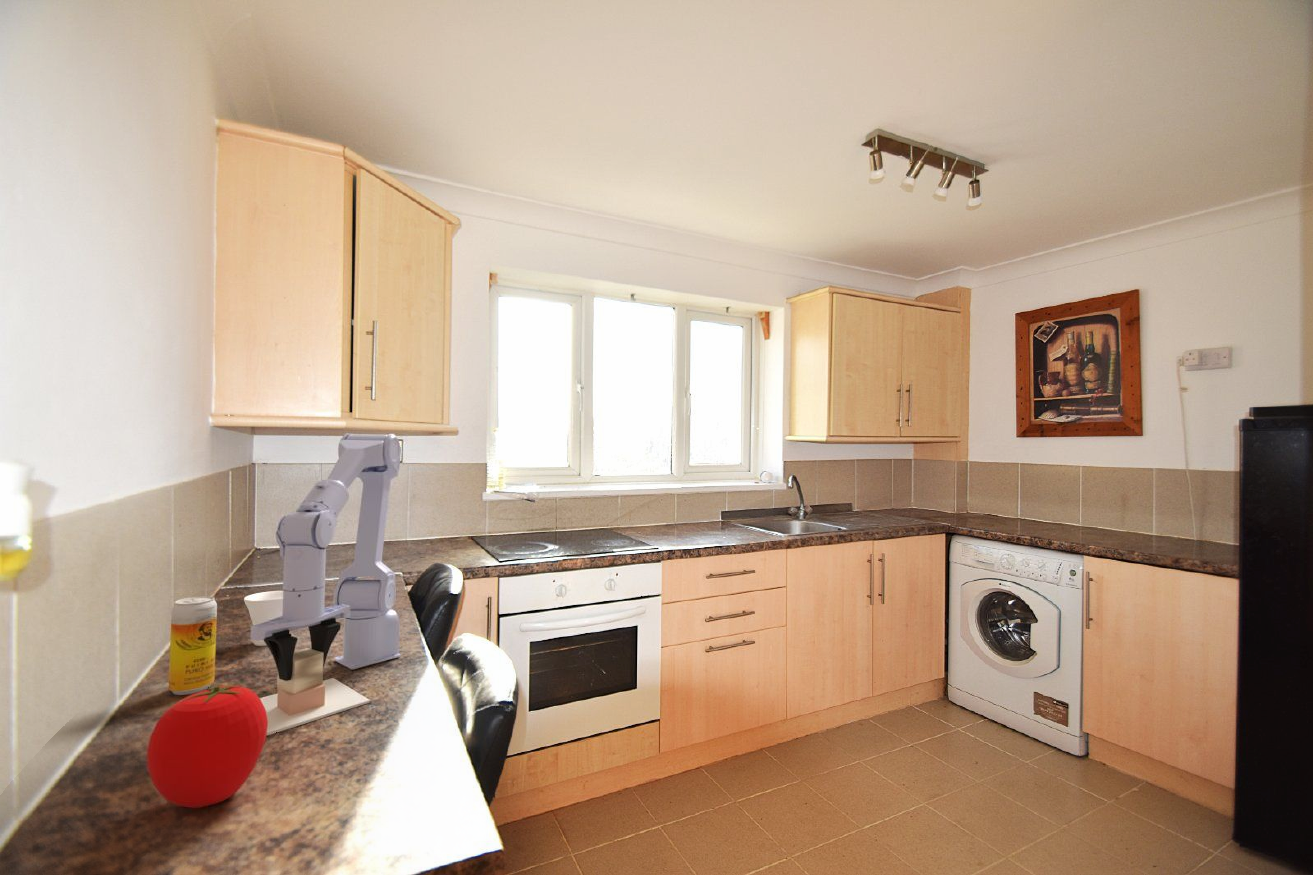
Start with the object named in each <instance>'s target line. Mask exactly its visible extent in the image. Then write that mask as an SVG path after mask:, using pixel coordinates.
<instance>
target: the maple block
mask: <svg viewBox="0 0 1313 875" xmlns="http://www.w3.org/2000/svg"><path fill="white" fill-rule="evenodd" d="M323 678H324V668H323V652H320V651H316V650H312V649H311V648H309V647H305V648H302V649H301V648H300V649H298V650H294V655H293V672H292V677H291V680H289V681H284V680H282V679H279V674H278V670H277V678H276V689H277V690H278V689H280V690H283V691H286V692H289V693H292V694H296V693H299V692H302V691H305V690H307V689H310V688H313V687H316V686H319V685H321V684H323V681H324V679H323Z"/></svg>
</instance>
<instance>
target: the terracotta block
mask: <svg viewBox="0 0 1313 875" xmlns="http://www.w3.org/2000/svg"><path fill="white" fill-rule="evenodd" d="M277 693H278V698H277V707H279V708H280V709H281V710H282V711H284V712H285V713H286V714H287V715H289V716H291V715H294V714H297V713H300V712H304V711H307V710H310V709H313V708H317V707H320V706H323V705H325V686H324V685H323V684H321V685H319V686H316V687H313V688H310V689H307V690H305V691H302V692H299V693H296V694H292V693H289V692H286V691H283V690H280V689H277Z"/></svg>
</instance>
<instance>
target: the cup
mask: <svg viewBox="0 0 1313 875" xmlns="http://www.w3.org/2000/svg"><path fill="white" fill-rule="evenodd" d="M243 601H244V603H245V606H246V607H247V610H248V612H249V616H250V619H251V623H252V626H253V625H257V624H260V623H263V622H266V621H269V620H272V619H275V618H277V617H280V616H282V611H283V590H271V591H264V592H256V593H253V594H249V595H247V596H245V597H244V599H243ZM252 643H253V644H254V646H258V647H266V646H267V645H266V643H265V642H264V640H260V641H256V640H253V639H252ZM267 647H268V646H267Z"/></svg>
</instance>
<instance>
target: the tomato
mask: <svg viewBox="0 0 1313 875" xmlns="http://www.w3.org/2000/svg"><path fill="white" fill-rule="evenodd" d="M243 684H245V682H243V683H240V684H234V685H232V684H231V685H223V686H220V685H215V686H210V687H209V686H208V687H209V689H208V688H207V689H205V690H203V691H200V692H196V693H192V694H189V695H188V696H186V697H184V698H182V699H181V700H179V701H178V702H176V703H175V704H173V705H172V706H171V707H170V708H168V709H167V710H166V711H165V712H164V713H163V714H162V715H161V716H160V717H159V719H158V720H157V722H156V723H155V725H154V728H153V730H152V732H151V734H150V737H149V741H148V746H147V749H146V752H147V754H146V766H147V769H148V774H149V776H150V779H151V781H152V783H153V785H154V787H155V788H156V790H157V791H158V793H159V794H160V795H161V796H162V798H164V799H165V800H166V801H168V802H170V803H173V804H175V805H177V806H179V807H187V808H195V809H197V808H198V809H199V808H205V807H209V806H211V805H215V804H219V803H221V802H223V801H225V800H227V799H229V798H230V797H232V796H233V795H234V794H235V793H236V792H237V791H238V790H239V789H240V788H241V787H242V786H243V785H244V784H245V783H246V781H247V780H248V778H249V777H250V775H251V773H252V771H253V770H254V768H255V766H256V765H257V763H258V761H259V758H260V756H261V754H262V751H263V748H264V746H265V742H266V739H267V736H266V734H267V727H268V720H267V714H266V710H265V708H264V706H263V704H262V702H261V700H260V698H261V697H260V696H258V695H257V694H256V693H255V692H254V691H253V690H252V689H249V688H247V687H244V686H241V685H243Z"/></svg>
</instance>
